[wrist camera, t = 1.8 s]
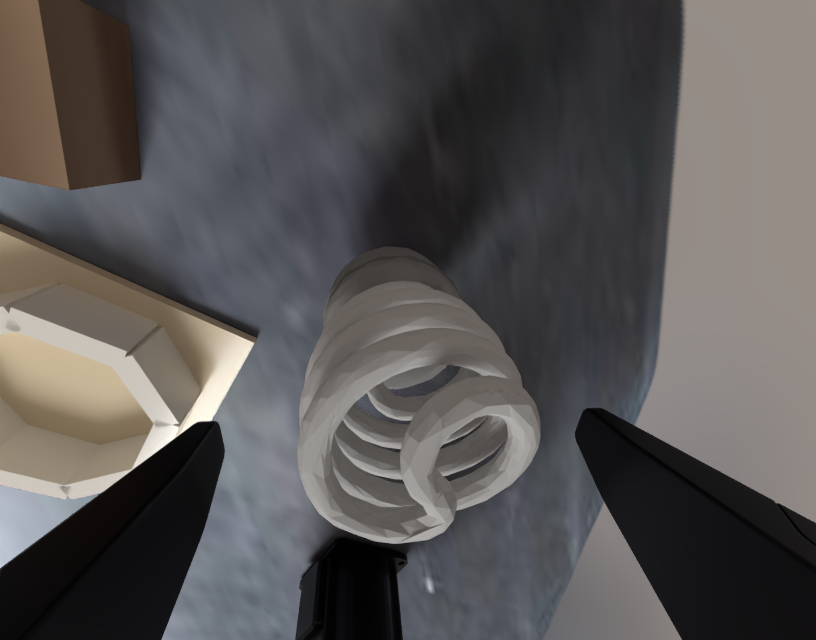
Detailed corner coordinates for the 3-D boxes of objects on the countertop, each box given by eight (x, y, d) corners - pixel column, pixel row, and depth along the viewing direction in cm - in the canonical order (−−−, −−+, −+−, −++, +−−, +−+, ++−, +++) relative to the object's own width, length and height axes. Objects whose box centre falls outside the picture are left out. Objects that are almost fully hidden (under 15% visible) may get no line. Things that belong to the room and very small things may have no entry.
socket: (257, 338, 17) (239, 372, 15) (175, 483, 21) (149, 532, 18) (-44, 203, 13) (-145, 217, 11) (-81, 415, 17) (-162, 464, 14)
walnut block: (131, 27, 12) (34, -24, 8) (142, 179, 14) (69, 190, 10) (-52, -28, 11) (-255, -116, 7) (-10, 146, 13) (-150, 145, 9)
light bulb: (410, 345, 19) (479, 600, 8) (312, 309, 17) (237, 573, 7) (461, 254, 17) (637, 436, 6) (355, 204, 15) (351, 334, 5)
